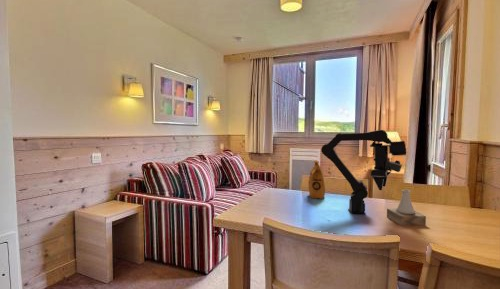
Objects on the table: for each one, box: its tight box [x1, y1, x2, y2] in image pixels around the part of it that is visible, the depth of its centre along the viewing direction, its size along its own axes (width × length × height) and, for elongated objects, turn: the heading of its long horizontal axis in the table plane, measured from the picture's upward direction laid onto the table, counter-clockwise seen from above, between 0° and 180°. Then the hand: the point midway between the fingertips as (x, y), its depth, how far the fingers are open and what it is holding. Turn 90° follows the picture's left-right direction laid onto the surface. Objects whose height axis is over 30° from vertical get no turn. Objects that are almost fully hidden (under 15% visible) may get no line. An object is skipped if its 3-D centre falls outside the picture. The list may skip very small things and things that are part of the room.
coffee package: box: [308, 159, 326, 199], centre depth 161 cm, size 10×12×22 cm
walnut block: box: [386, 208, 427, 226], centre depth 118 cm, size 11×11×4 cm
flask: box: [396, 189, 416, 214], centre depth 118 cm, size 7×7×10 cm
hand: (382, 188), depth 126 cm, fingers open, 9 cm apart
